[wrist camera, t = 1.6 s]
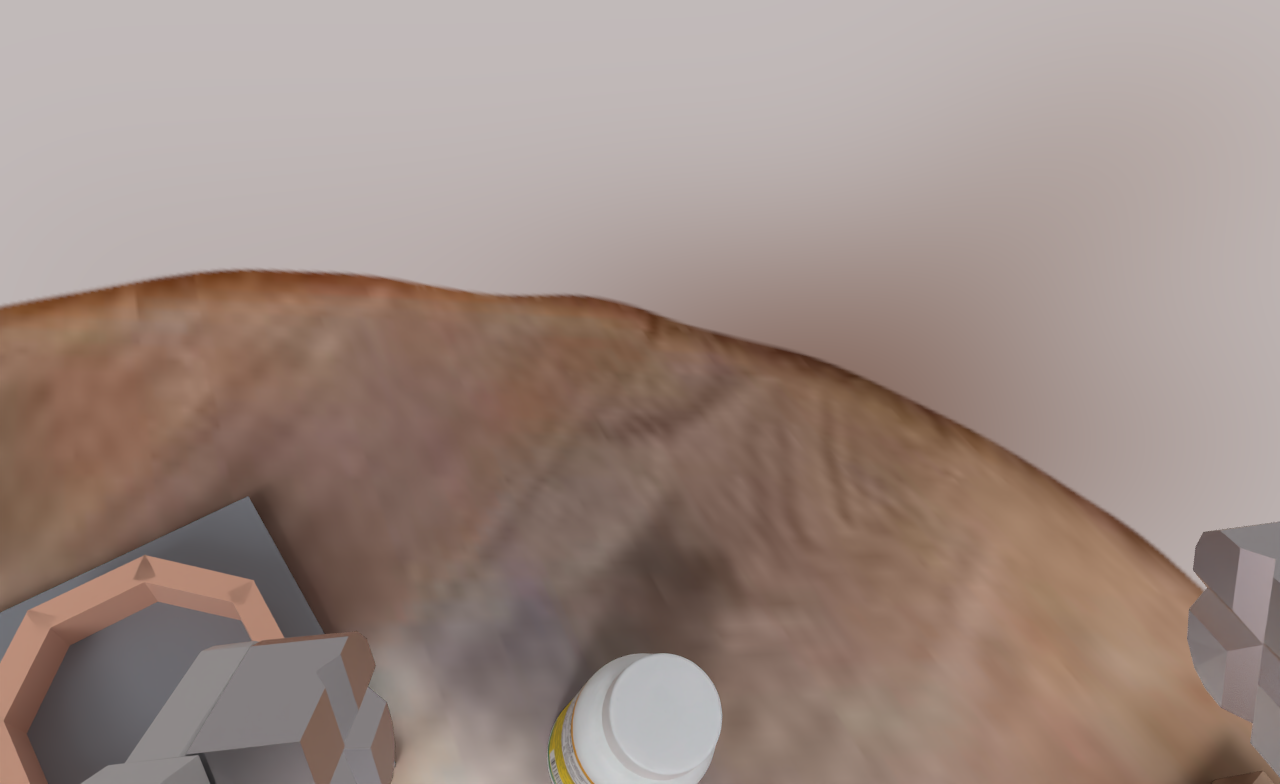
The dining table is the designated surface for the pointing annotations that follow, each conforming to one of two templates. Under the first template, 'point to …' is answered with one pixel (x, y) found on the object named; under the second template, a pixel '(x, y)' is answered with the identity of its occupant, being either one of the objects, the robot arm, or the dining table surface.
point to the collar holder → (134, 642)
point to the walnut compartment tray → (1246, 779)
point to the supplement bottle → (638, 724)
